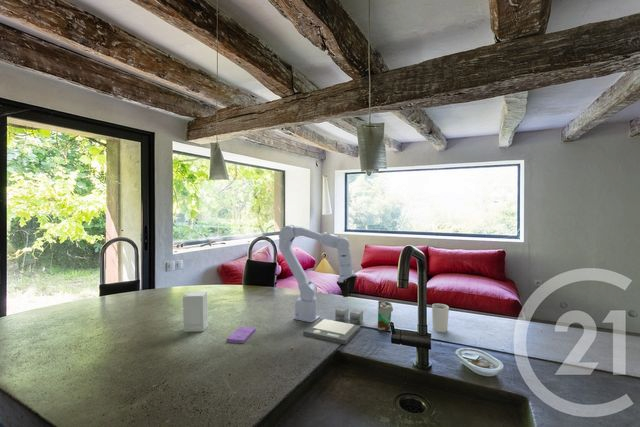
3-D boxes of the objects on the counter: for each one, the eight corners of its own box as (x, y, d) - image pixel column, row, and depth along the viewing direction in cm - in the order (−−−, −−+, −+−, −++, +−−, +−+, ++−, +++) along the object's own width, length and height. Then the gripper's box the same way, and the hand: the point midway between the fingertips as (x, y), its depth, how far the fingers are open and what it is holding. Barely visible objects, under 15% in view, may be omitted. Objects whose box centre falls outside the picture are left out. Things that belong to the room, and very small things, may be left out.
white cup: (450, 333, 126) (450, 309, 125) (432, 332, 127) (433, 307, 127) (446, 327, 132) (447, 304, 132) (430, 326, 134) (430, 303, 133)
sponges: (226, 343, 115) (226, 338, 115) (239, 330, 128) (239, 325, 128) (244, 344, 114) (244, 339, 114) (255, 331, 127) (256, 326, 127)
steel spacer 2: (349, 323, 136) (350, 312, 136) (353, 320, 140) (353, 309, 140) (359, 325, 134) (359, 313, 134) (362, 321, 138) (363, 310, 138)
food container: (393, 334, 124) (393, 309, 124) (377, 332, 125) (378, 308, 125) (392, 323, 136) (392, 300, 136) (378, 322, 138) (378, 299, 137)
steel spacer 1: (335, 320, 139) (335, 309, 139) (339, 317, 143) (339, 306, 143) (344, 322, 137) (344, 311, 137) (348, 319, 141) (348, 308, 141)
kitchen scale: (303, 335, 122) (303, 330, 122) (321, 321, 137) (321, 317, 137) (345, 344, 114) (345, 339, 114) (359, 329, 129) (359, 324, 129)
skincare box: (208, 326, 130) (208, 291, 130) (203, 332, 124) (203, 295, 124) (188, 326, 129) (188, 291, 129) (182, 332, 123) (182, 295, 123)
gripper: (347, 267, 130) (351, 299, 130) (358, 260, 143) (362, 289, 143) (332, 267, 133) (336, 299, 133) (344, 261, 146) (348, 289, 146)
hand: (348, 294), depth 138 cm, fingers open, 7 cm apart
